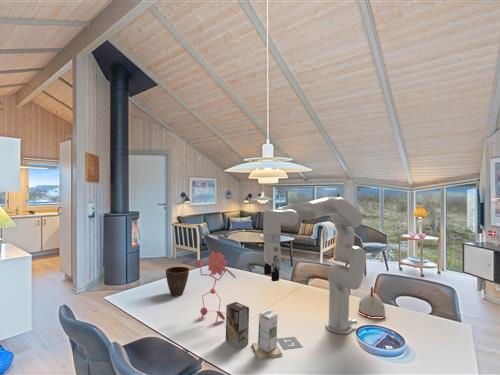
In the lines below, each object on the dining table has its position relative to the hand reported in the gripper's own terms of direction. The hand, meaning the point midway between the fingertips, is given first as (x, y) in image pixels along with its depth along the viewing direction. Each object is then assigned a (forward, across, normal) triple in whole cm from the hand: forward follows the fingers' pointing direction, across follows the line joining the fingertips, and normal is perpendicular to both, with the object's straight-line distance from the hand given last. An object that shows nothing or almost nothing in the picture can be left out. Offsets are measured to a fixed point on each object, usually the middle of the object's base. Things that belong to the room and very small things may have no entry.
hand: (271, 277), depth 121 cm
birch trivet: (+30, -2, +2) cm, 30 cm away
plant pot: (+30, +74, +38) cm, 88 cm away
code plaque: (+30, +2, -10) cm, 32 cm away
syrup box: (+29, -2, +2) cm, 29 cm away
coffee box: (+30, +7, +13) cm, 34 cm away
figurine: (+30, +34, +19) cm, 50 cm away
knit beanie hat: (+31, +21, -69) cm, 79 cm away
